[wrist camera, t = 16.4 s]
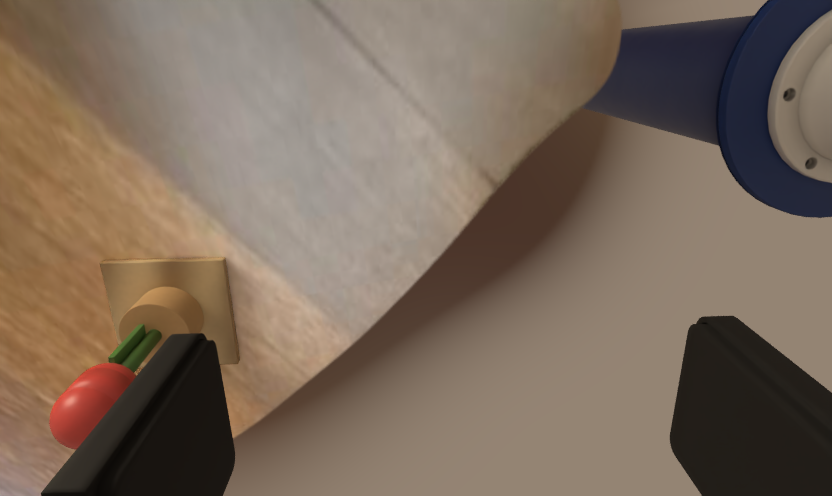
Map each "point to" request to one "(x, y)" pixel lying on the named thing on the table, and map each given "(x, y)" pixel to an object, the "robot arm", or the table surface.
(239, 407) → the table surface
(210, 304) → the coaster
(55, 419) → the tulip
